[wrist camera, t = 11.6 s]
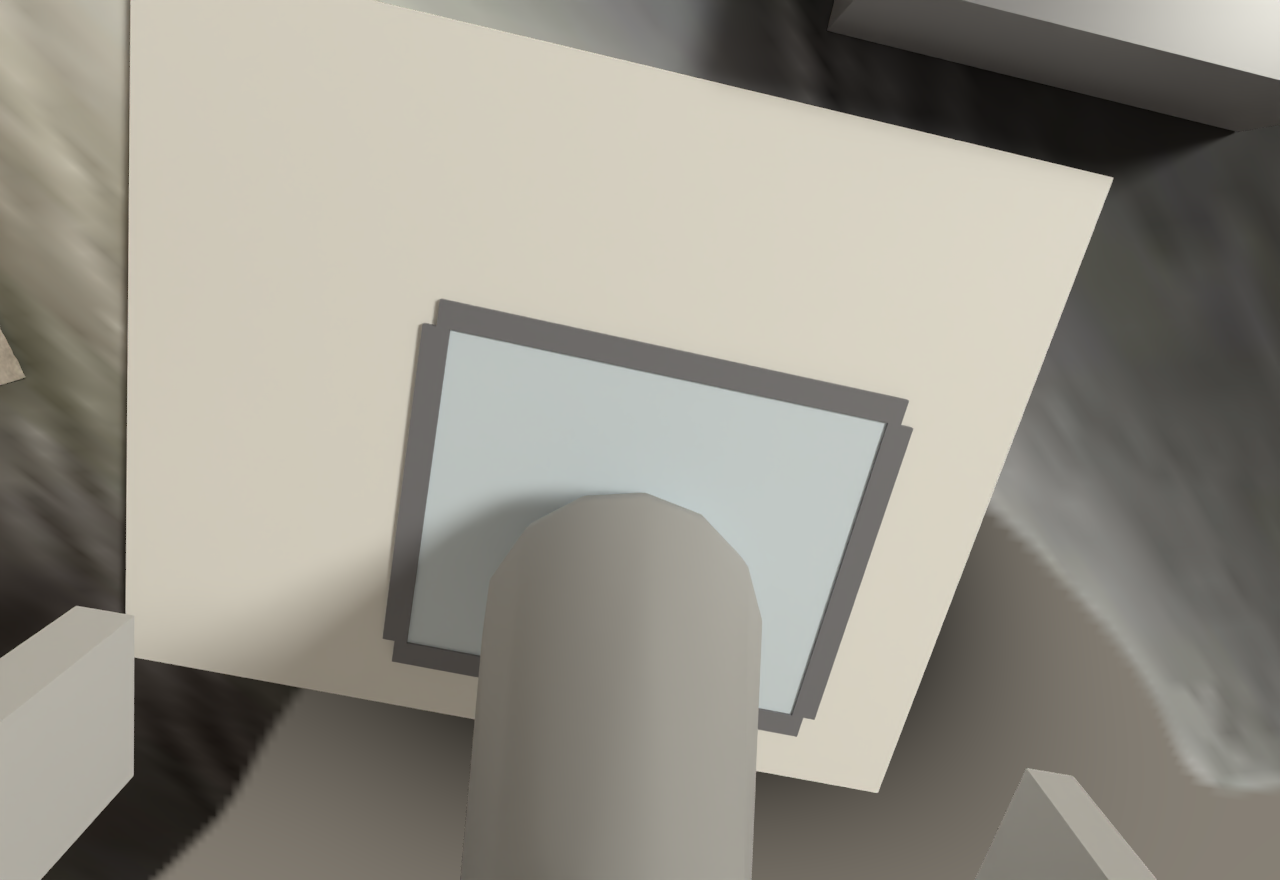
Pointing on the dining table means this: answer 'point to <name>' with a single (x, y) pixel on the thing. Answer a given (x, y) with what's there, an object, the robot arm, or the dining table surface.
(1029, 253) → the colouring board
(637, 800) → the salt shaker
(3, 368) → the condiment
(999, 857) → the robot arm
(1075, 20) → the button housing
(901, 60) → the dining table surface
